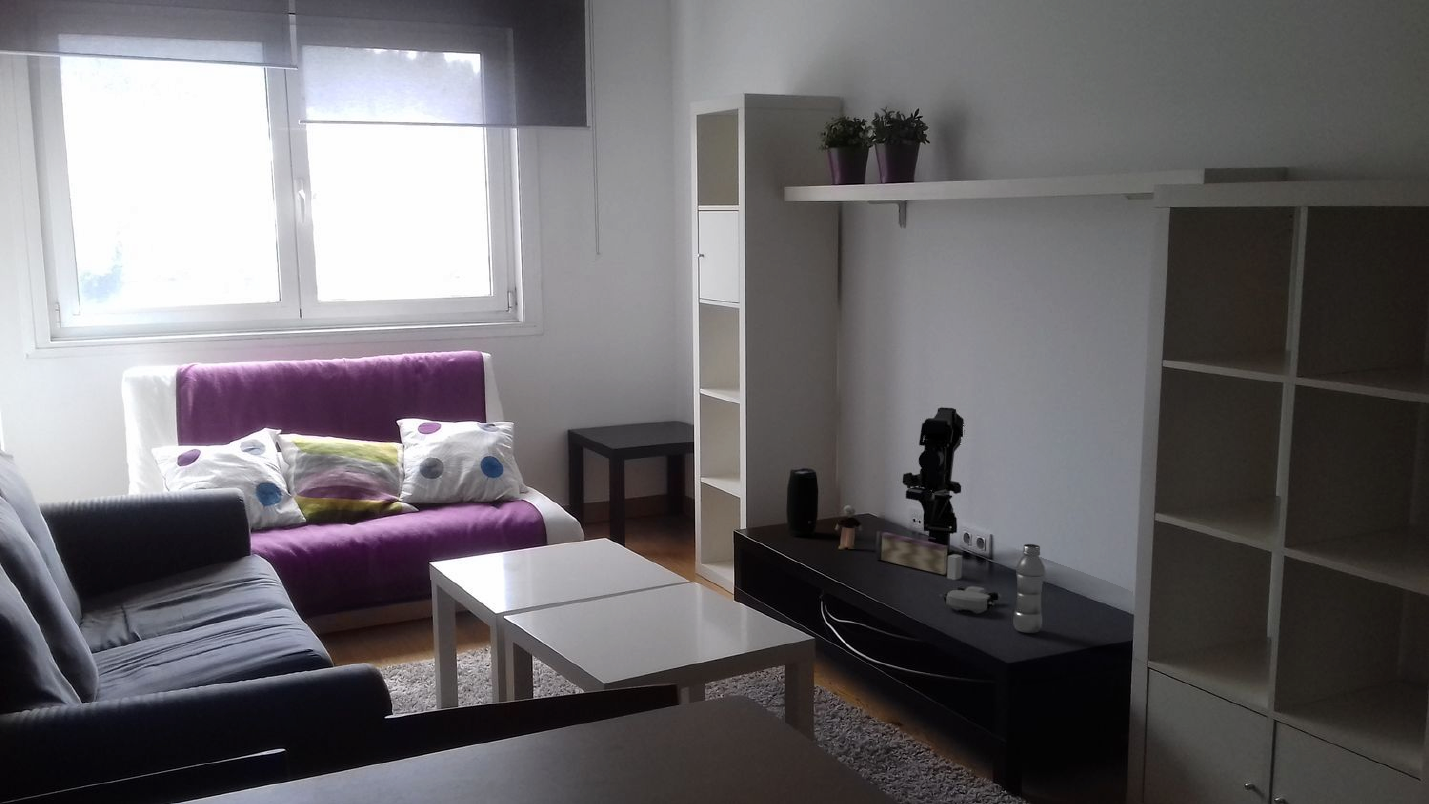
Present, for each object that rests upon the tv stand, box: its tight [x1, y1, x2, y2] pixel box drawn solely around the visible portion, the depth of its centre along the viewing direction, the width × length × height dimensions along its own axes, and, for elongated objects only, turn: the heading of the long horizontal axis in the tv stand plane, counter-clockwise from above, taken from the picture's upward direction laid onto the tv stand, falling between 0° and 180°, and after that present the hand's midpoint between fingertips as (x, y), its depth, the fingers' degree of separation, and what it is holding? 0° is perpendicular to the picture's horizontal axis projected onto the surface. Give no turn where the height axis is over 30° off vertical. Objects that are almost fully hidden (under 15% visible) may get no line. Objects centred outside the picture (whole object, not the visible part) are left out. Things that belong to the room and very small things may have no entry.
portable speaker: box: [785, 467, 819, 538], centre depth 361 cm, size 9×9×20 cm
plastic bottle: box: [1012, 543, 1046, 634], centre depth 273 cm, size 6×7×20 cm
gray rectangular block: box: [946, 553, 963, 581], centre depth 317 cm, size 3×2×6 cm
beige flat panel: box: [875, 530, 948, 575], centre depth 327 cm, size 22×2×8 cm, turn 46°
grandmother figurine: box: [834, 505, 863, 550], centre depth 346 cm, size 8×4×13 cm, turn 92°
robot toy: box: [939, 585, 1002, 614], centre depth 292 cm, size 12×4×15 cm
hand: (932, 521), depth 329 cm, fingers open, 3 cm apart
